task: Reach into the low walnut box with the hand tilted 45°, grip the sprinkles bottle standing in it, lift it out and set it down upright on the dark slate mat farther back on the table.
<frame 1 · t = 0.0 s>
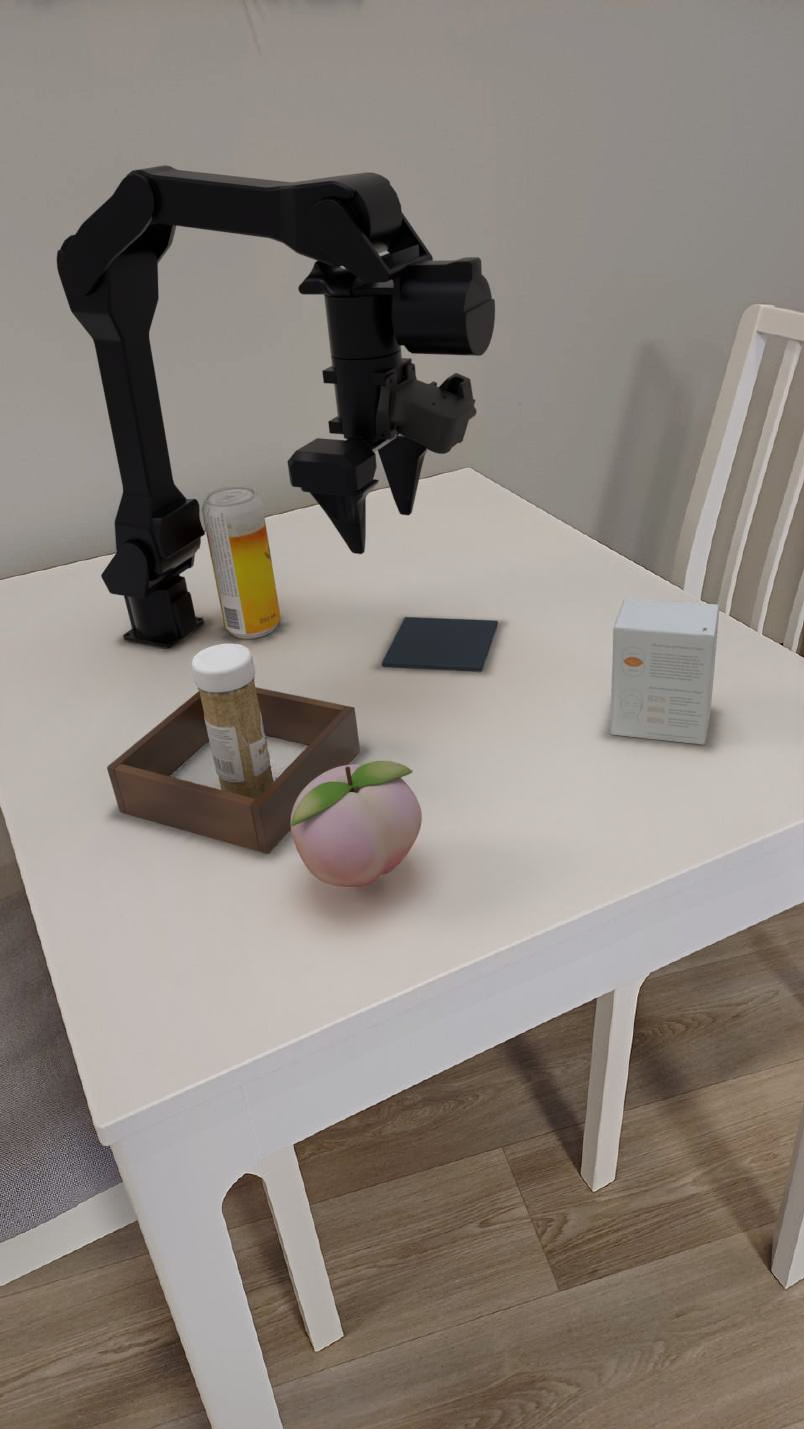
hand: (383, 533, 88), 15 cm above the table, tool pointing down, fingers open, 9 cm apart
beer can: (253, 629, 107), on the table
decorative fruit: (359, 879, 72), on the table
walnut box: (243, 780, 83), on the table
slate mat: (441, 644, 101), on the table
sprinkles bottle: (250, 801, 81), resting in walnut box
small box: (660, 725, 86), on the table
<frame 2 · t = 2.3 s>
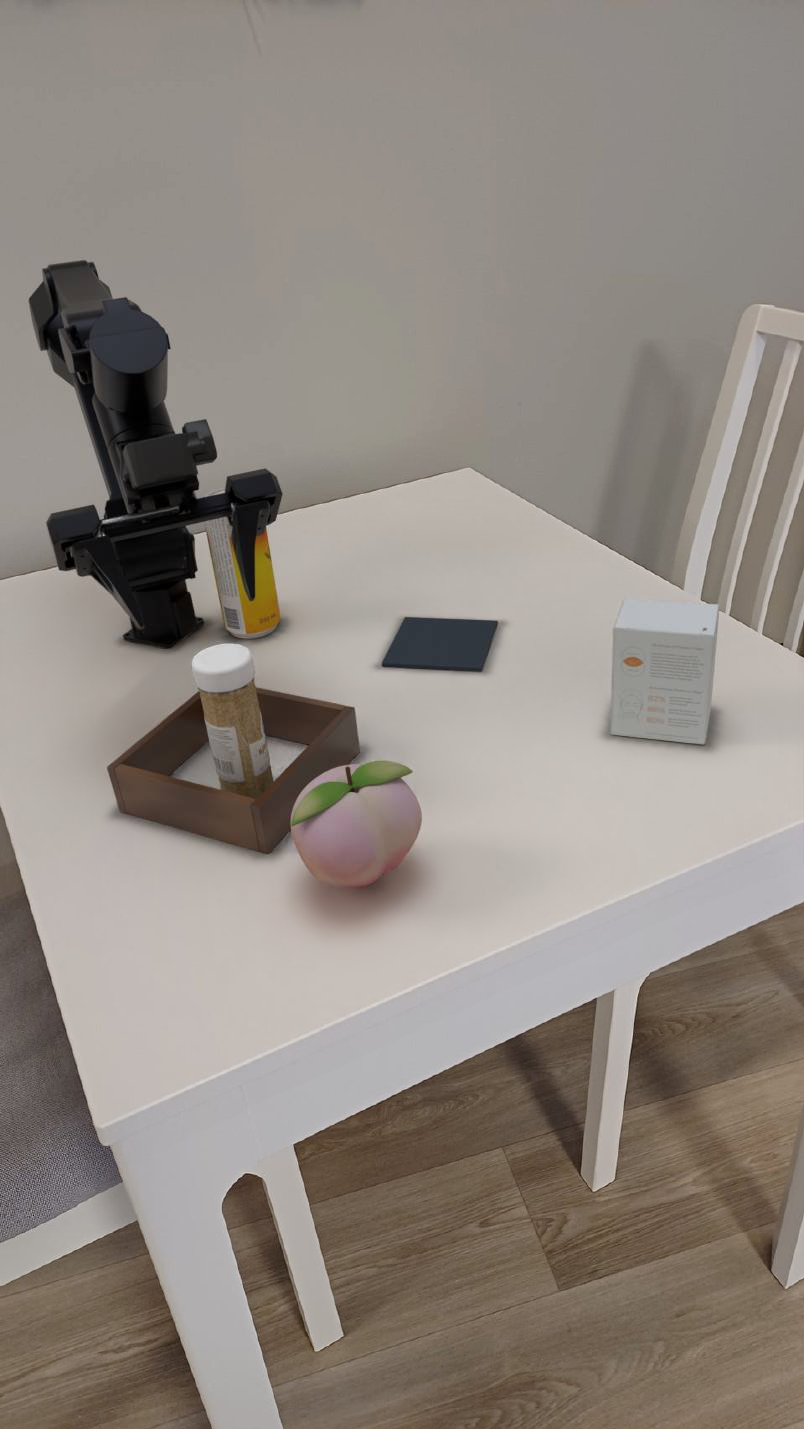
hand: (198, 613, 80), 13 cm above the table, tool tilted 45°, fingers open, 9 cm apart
nothing on the table moved.
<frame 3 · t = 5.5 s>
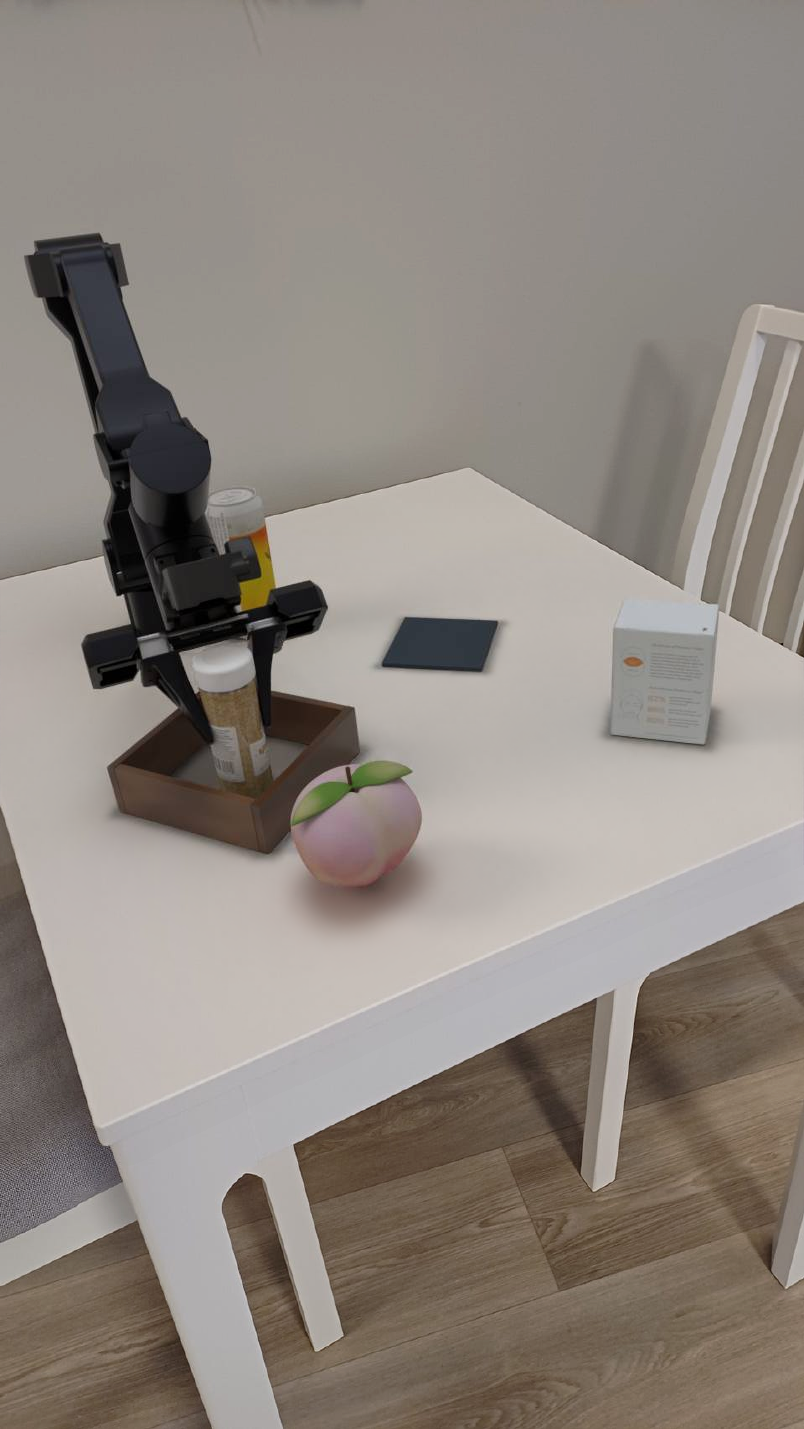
hand: (239, 735, 76), 7 cm above the table, tool tilted 45°, fingers closed on sprinkles bottle, 4 cm apart
sprinkles bottle: (250, 801, 81), resting in walnut box, touching gripper
everything else where it was.
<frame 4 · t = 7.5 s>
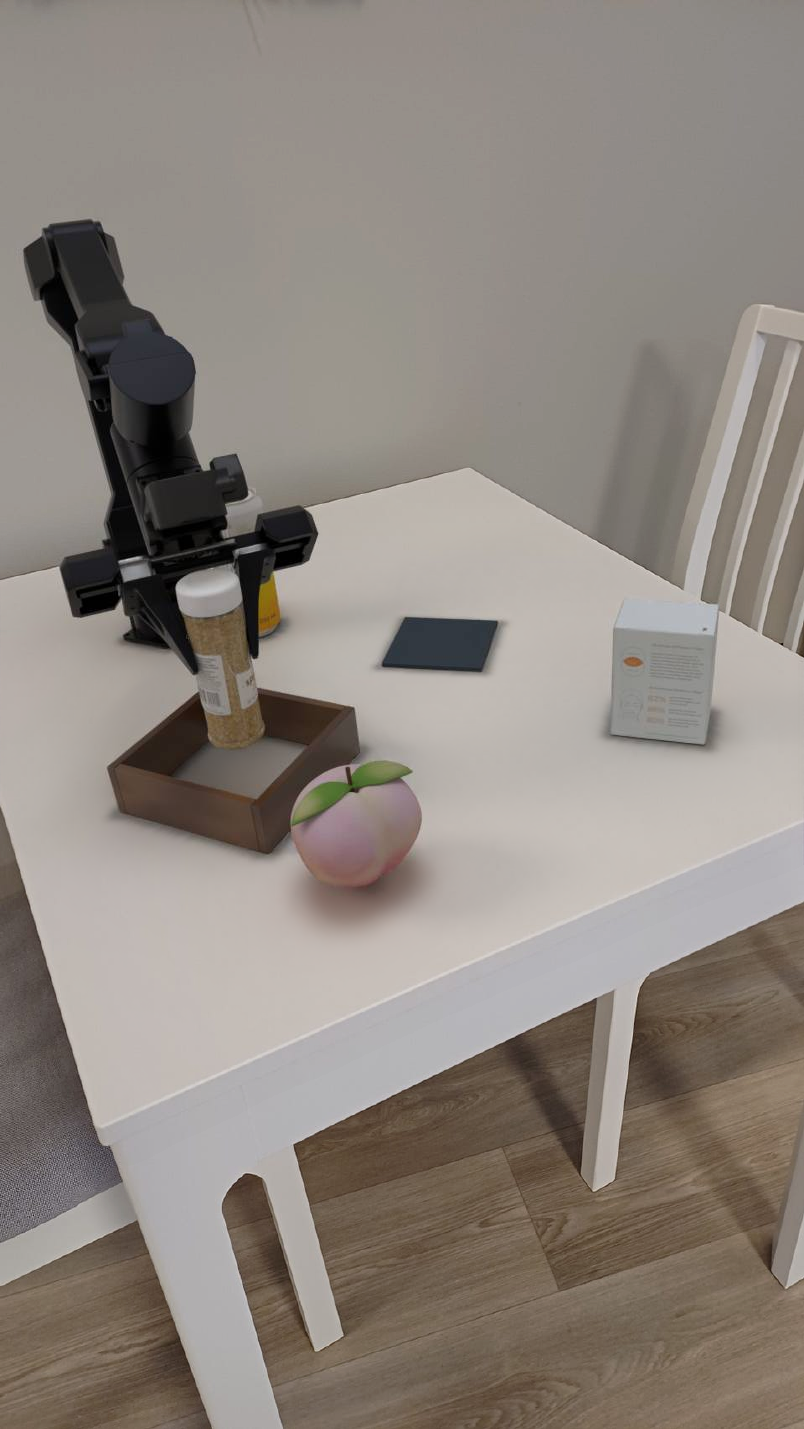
hand: (225, 665, 73), 13 cm above the table, tool tilted 45°, fingers closed on sprinkles bottle, 4 cm apart
sprinkles bottle: (237, 737, 78), point 6 cm above the table, touching gripper
everything else where it was.
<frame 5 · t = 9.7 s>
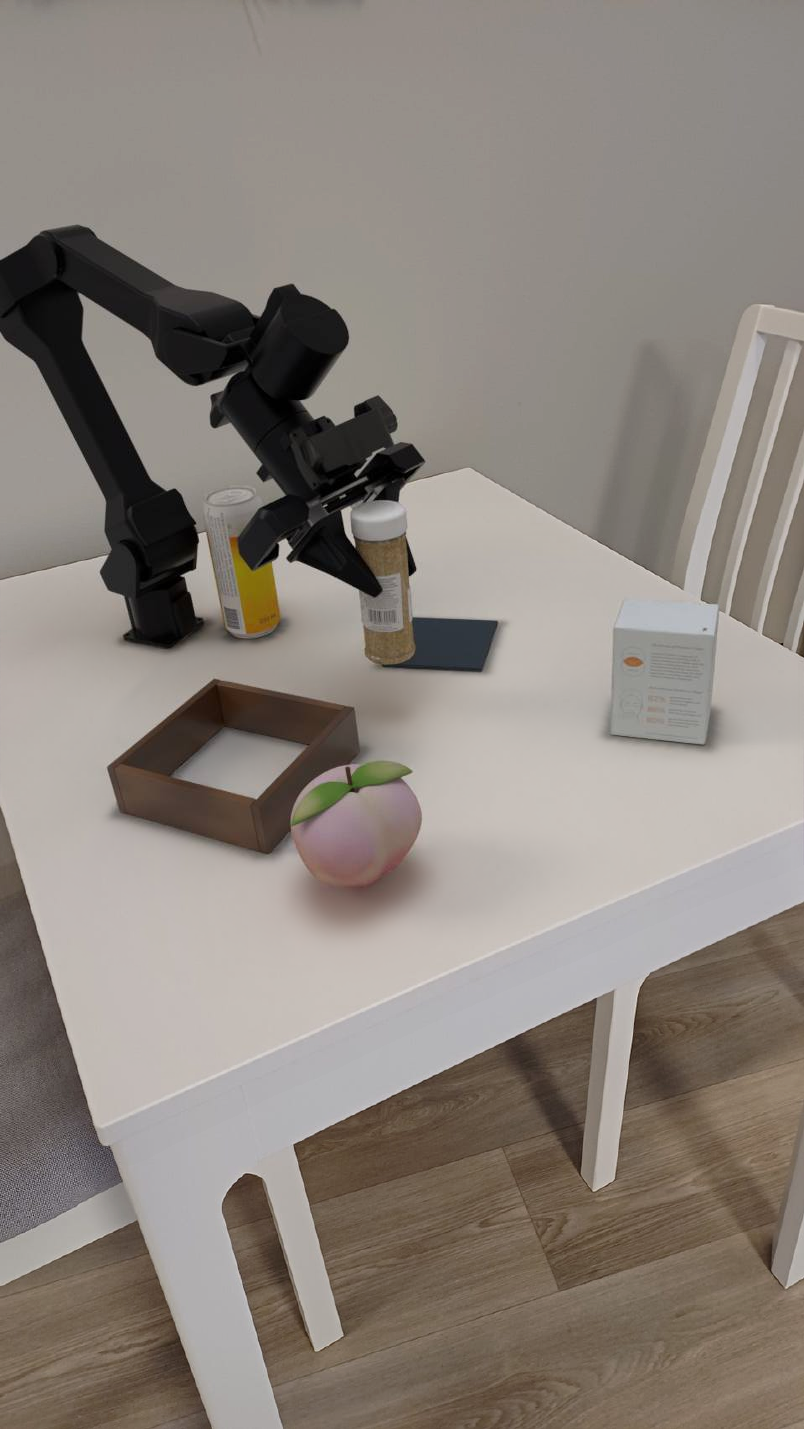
hand: (396, 584, 82), 13 cm above the table, tool tilted 45°, fingers closed on sprinkles bottle, 4 cm apart
sprinkles bottle: (389, 656, 87), point 6 cm above the table, touching gripper
everything else where it was.
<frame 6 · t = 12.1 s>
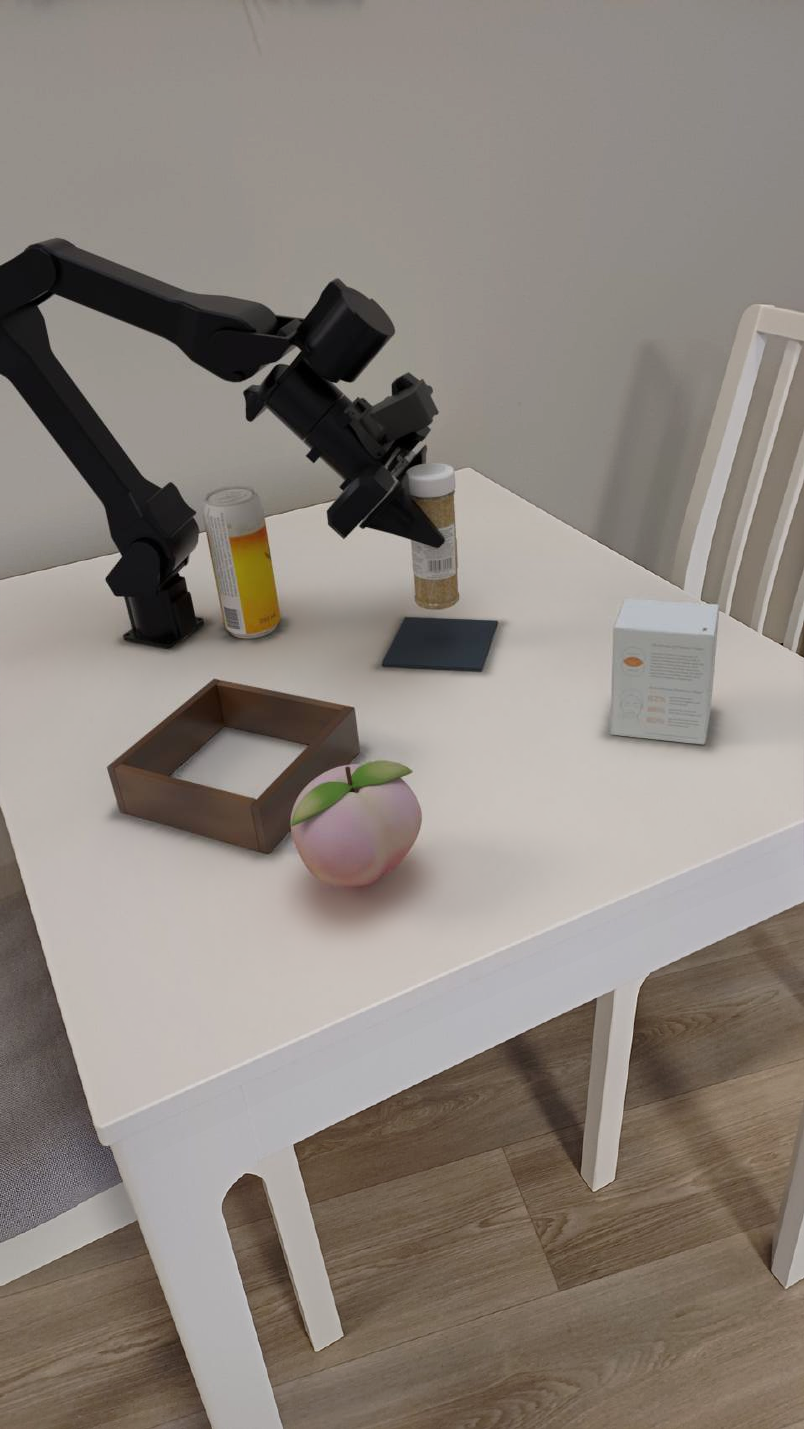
hand: (446, 535, 94), 12 cm above the table, tool tilted 45°, fingers closed on sprinkles bottle, 4 cm apart
sprinkles bottle: (436, 603, 98), point 5 cm above the table, touching gripper
everything else where it was.
when the fingers open (8 cm above the table, at t = 13.7 s): sprinkles bottle stays where it is, resting on slate mat.
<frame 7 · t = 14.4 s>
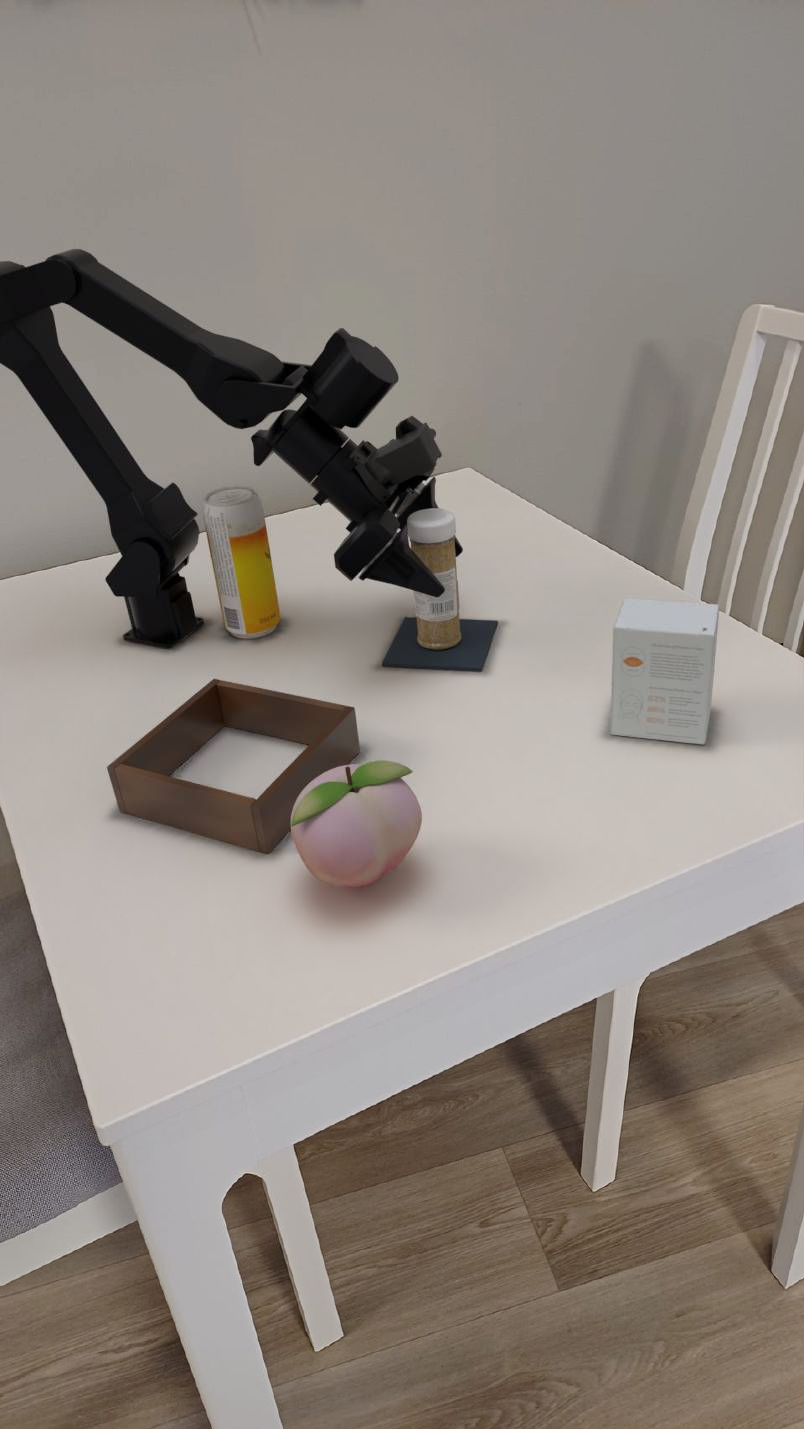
hand: (451, 573, 96), 8 cm above the table, tool tilted 45°, fingers open, 9 cm apart
sprinkles bottle: (439, 642, 101), resting on slate mat
everything else where it was.
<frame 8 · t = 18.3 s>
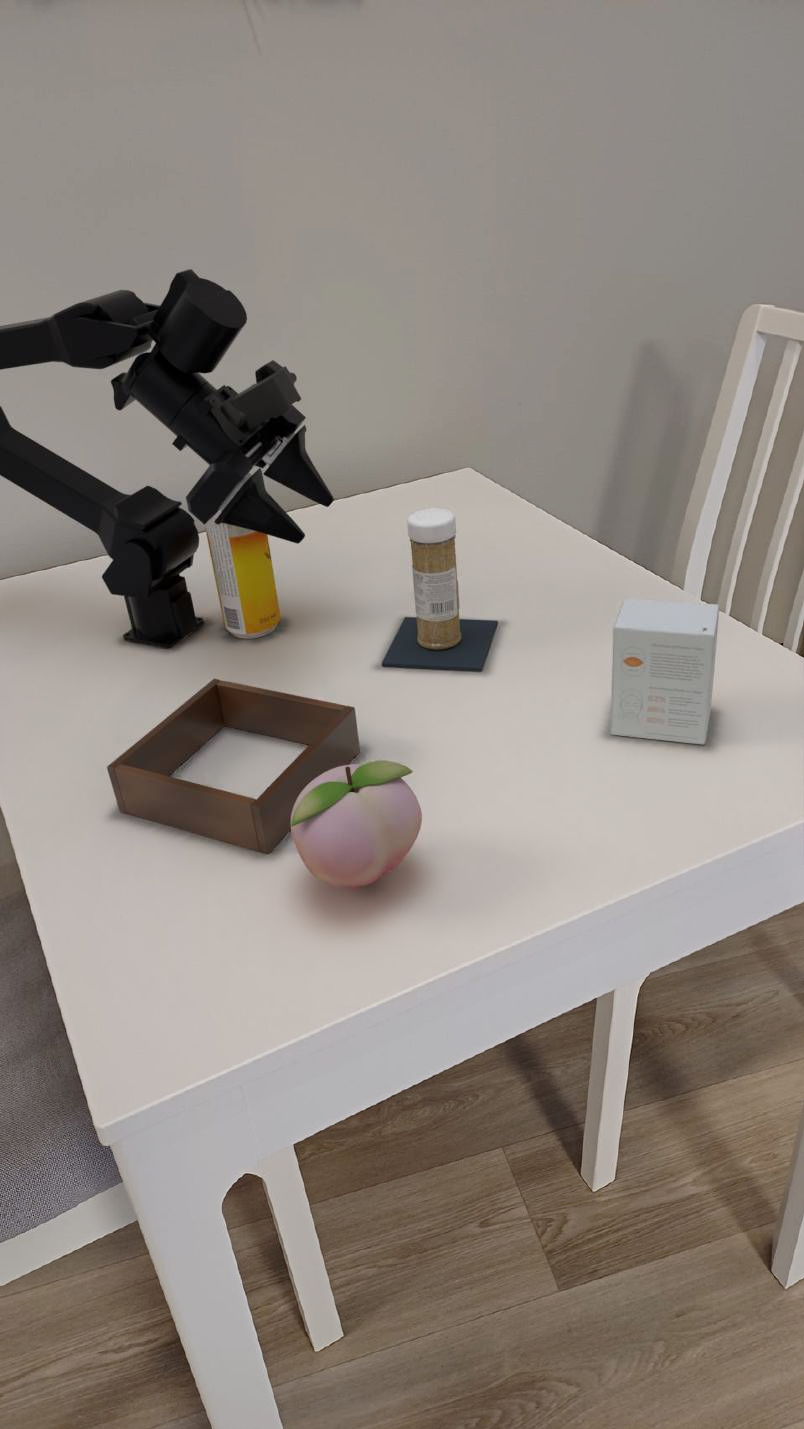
hand: (317, 521, 95), 14 cm above the table, tool tilted 45°, fingers open, 9 cm apart
nothing on the table moved.
at the end: sprinkles bottle inside the target area on the slate mat (0.2 cm from its centre), point 0.2 cm above the slate mat's base; sprinkles bottle tilted 0°; the gripper is holding nothing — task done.
